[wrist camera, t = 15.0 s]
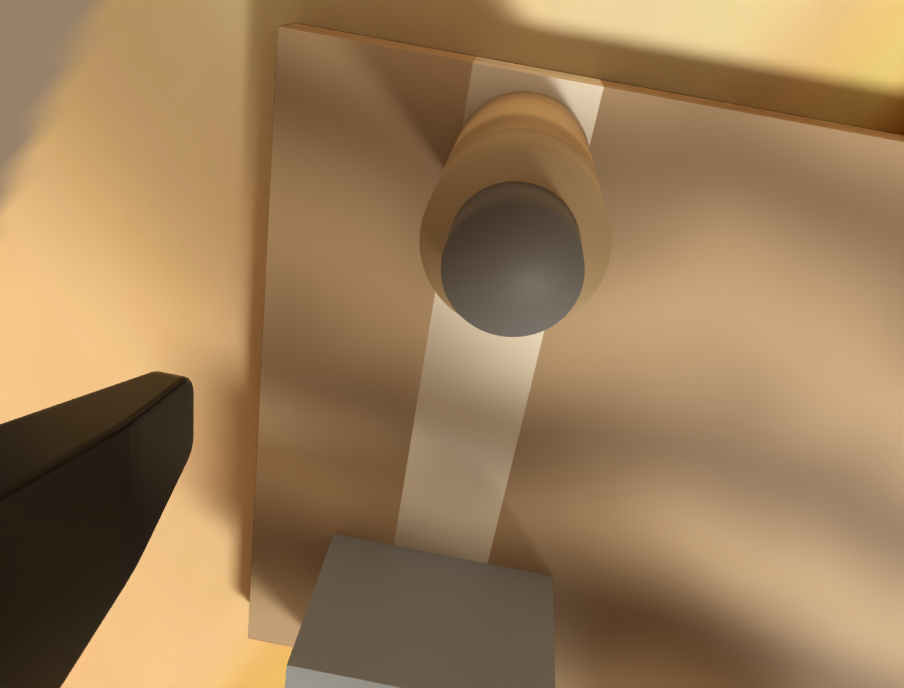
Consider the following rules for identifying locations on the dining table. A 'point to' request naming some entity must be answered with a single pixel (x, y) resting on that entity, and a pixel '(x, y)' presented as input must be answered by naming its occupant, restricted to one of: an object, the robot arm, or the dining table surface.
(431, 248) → the tan small bottle
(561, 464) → the board
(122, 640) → the dining table surface
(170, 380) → the robot arm
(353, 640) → the block
